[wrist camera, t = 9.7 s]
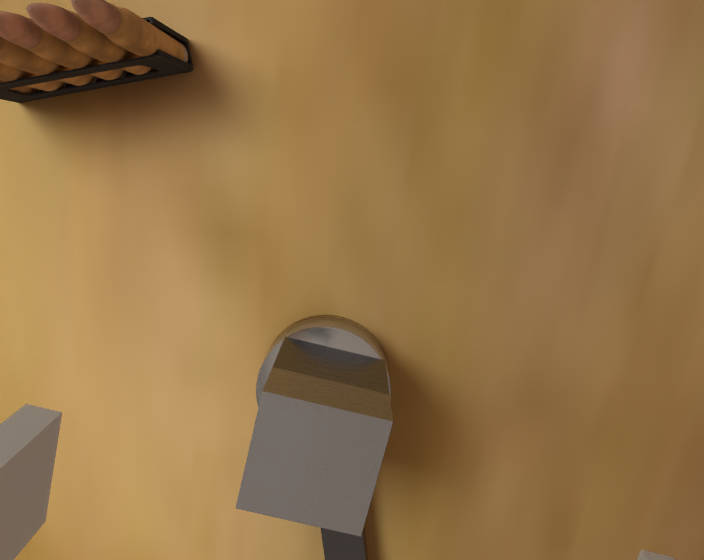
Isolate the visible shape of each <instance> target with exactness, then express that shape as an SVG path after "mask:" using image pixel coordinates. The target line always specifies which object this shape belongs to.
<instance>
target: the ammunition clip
mask: <svg viewBox="0 0 704 560" xmlns="http://www.w3.org/2000/svg"><path fill="white" fill-rule="evenodd" d="M71 3H72V6H73V8H74V9H75V11H76V12H77V13H78V14H77V13H74V12H72V11H68V10H66V9H64V8H62V7H59V6H56V5H52V4H47V3H32V4H29V5H28V6H27V8H26V9H27V12H28V14H29V16H30V17H31V18H32V19H31V18H26V17H24V16H21V15H18V14H14V13H10V12H4V11H0V99H3V100H8V101H13V102H18V103H21V102H27V101H32V100H38V99H43V98H49V97H54V96H60V95H65V94H70V93H76V92H81V91H87V90H92V89H98V88H103V87H109V86H114V85H120V84H125V83H131V82H136V81H142V80H147V79H153V78H158V77H164V76H169V75H175V74H180V73H186V72H191V71H192V70H193V64H192V59H191V55H190V50H189V45H188V41H187V38H185V37H184V36H182V35H180V34H179V33H177V32H175V31H174V30H172V29H170V28H169V27H167V26H166V25H164V24H162V23H161V22H159V21H158V20H156V19H154V18H153V17H147V18H141V17H139V16H138V15H136V14H135V13H133V12H131V11H130V10H128V9H126V8H120V7H117V6H115V5H113V4H111V3H108V2H106V1H104V0H71Z"/></svg>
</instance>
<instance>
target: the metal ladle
mask: <svg viewBox="0 0 704 560" xmlns="http://www.w3.org/2000/svg"><path fill="white" fill-rule="evenodd" d="M285 337H290V338H294V339H298V340H302V341H306V342H311V343H315V344H319V345H323V346H327V347H332V348H336V349H340V350H344V351H348V352H352V353H357V354H361V355H365V356H369V357H373V358H378V359H382V360H385V363H386V371H387V378H388V385H389V393H390V399H391V386H390V379H389V372H388V366H387V360H386V357H385V354H384V352H383V350H382V348H381V346H380V344H379V343H378V341H377V340H376V339H375V337H374V336H373V335H372V334H371V333H370V332H369V331H368V330H366V329H365V328H364V327H362V326H361V325H359V324H358V323H356V322H354V321H352V320H349V319H346V318H344V317H339V316H333V315H318V316H311V317H308V318H305V319H302V320H300V321H297V322H295V323H294V324H292V325H290V326H289V327H287V328H286V329H285V330H284V331H283V332H282V333H281V334H280V335H279V336H278V337H277V338H276V340H275V341H274V342H273V344H272V346H271V348H270V350H269V352H268V354H267V356H266V358H265V360H264V362H263V364H262V366H261V369H260V372H259V375H258V379H257V386H256V396H257V403H258V407H259V404H260V400H261V395H262V391H263V388H264V386H265V384H266V381H267V379H268V376H269V374H270V372H271V369H272V367H273V364H274V362H275V360H276V357H277V355H278V352H279V350H280V348H281V345H282V343H283V340H284V338H285ZM321 533H322V540H323V548H324V555H325V560H368V556H367V548H366V539H365V530H364V527H363V531H362V534H361V537H360V536H356V535H352V534H347V533H343V532H338V531H334V530H329V529H325V528H321Z"/></svg>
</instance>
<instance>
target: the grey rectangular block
mask: <svg viewBox="0 0 704 560" xmlns="http://www.w3.org/2000/svg"><path fill="white" fill-rule="evenodd" d="M392 424H393V415H392V408H391V400H390V393H389V385H388V378H387V371H386V363H385V360H382V359H378V358H373V357H369V356H365V355H361V354H357V353H352V352H348V351H344V350H340V349H336V348H332V347H327V346H323V345H319V344H315V343H311V342H306V341H302V340H298V339H294V338H290V337H285V338H284V340H283V343H282V345H281V348H280V350H279V352H278V355H277V357H276V360H275V362H274V364H273V367H272V369H271V372H270V374H269V376H268V379H267V381H266V384H265V386H264V388H263V391H262V395H261V400H260V404H259V408H258V413H257V417H256V422H255V426H254V430H253V435H252V439H251V443H250V448H249V452H248V457H247V461H246V465H245V470H244V474H243V479H242V483H241V487H240V492H239V496H238V500H237V505H236V509H241V510H245V511H250V512H254V513H259V514H263V515H267V516H272V517H276V518H281V519H285V520H290V521H294V522H298V523H303V524H307V525H312V526H316V527H321V528H325V529H329V530H334V531H338V532H343V533H347V534H352V535H356V536H360V537H361V534H362V531H363V527H364V524H365V520H366V517H367V513H368V509H369V506H370V502H371V499H372V495H373V492H374V488H375V485H376V481H377V478H378V474H379V471H380V467H381V463H382V460H383V456H384V453H385V449H386V446H387V442H388V439H389V435H390V432H391V428H392Z"/></svg>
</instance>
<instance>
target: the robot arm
mask: <svg viewBox="0 0 704 560" xmlns="http://www.w3.org/2000/svg"><path fill="white" fill-rule="evenodd" d="M61 416H62V412H58V411H54V410H50V409H45V408H41V407H37V406H33V405H29V404H26V405H24V406H23V407H22V408H21V409H19V410H18V411H17V412H15V413H14V414H13V415H12V416H10V417H9V418H8V419H7V420H5V421H4V422H3V423H1V424H0V560H14V559H15V557H16V556H17V555H18V554H19V553H20V551H21V550H22V549H23V548H24V547H25V545H26V544H27V543H28V542H29V541H30V539H31V538H32V537H33V536H34V535H35V533H36V532H37V531H38V530H39V529H40V527H41V526H42V525H43V524H44V522H45V520H46V514H47V507H48V501H49V494H50V488H51V481H52V475H53V468H54V462H55V455H56V449H57V442H58V436H59V429H60V423H61ZM637 560H675V559H674V558H673V557H670V556H666V555H662V554H658V553H653V552H649V551H645V550H641V551H640V554H639V556H638V558H637Z"/></svg>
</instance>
